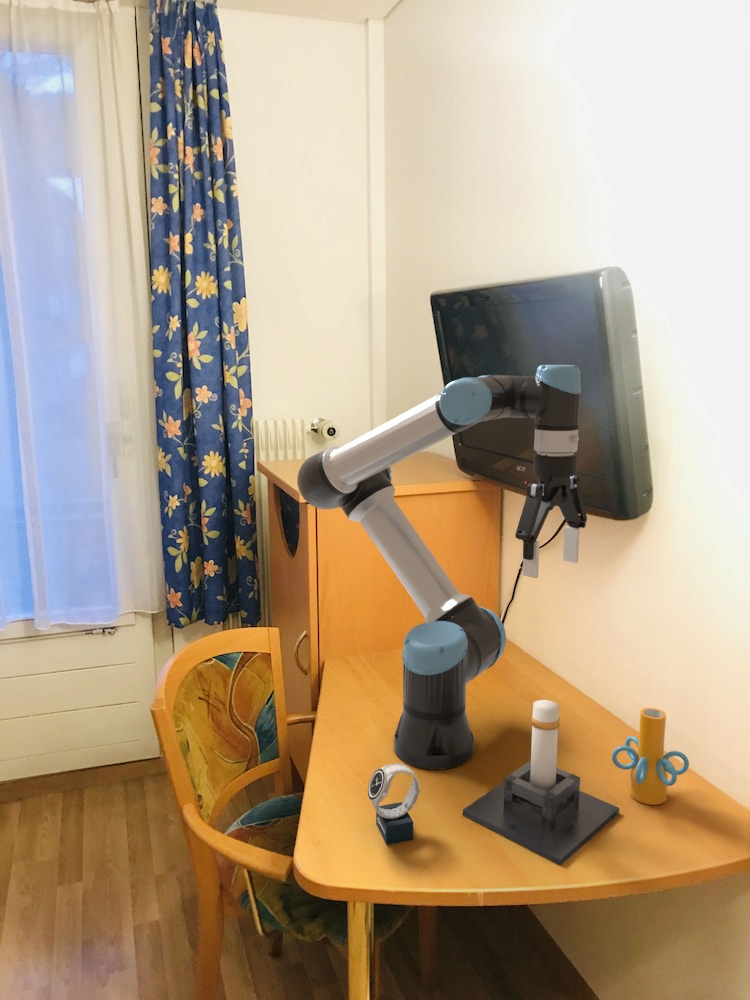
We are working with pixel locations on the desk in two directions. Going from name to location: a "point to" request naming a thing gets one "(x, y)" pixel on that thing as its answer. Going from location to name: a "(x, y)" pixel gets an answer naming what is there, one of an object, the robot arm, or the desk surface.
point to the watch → (393, 816)
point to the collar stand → (542, 814)
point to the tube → (544, 745)
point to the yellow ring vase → (650, 760)
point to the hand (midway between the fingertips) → (551, 568)
